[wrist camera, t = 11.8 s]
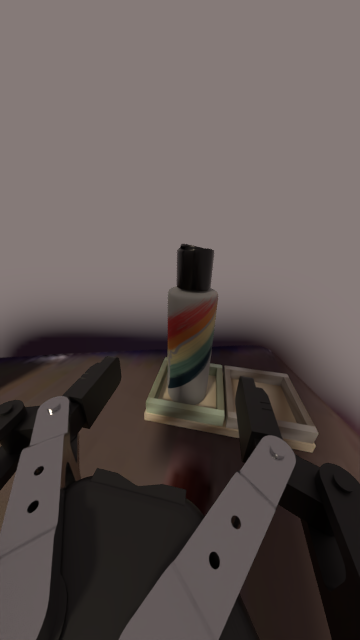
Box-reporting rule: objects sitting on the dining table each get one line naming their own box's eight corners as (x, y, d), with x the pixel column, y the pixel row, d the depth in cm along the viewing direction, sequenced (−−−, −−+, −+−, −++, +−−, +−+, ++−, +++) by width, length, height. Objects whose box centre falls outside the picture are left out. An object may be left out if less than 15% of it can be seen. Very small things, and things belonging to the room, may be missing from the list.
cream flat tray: (144, 419, 24) (143, 403, 22) (164, 370, 33) (164, 356, 31) (312, 452, 21) (321, 435, 19) (283, 387, 30) (288, 373, 28)
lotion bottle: (162, 382, 28) (161, 242, 20) (195, 374, 30) (207, 243, 22) (174, 412, 23) (179, 244, 15) (213, 400, 25) (236, 246, 17)
